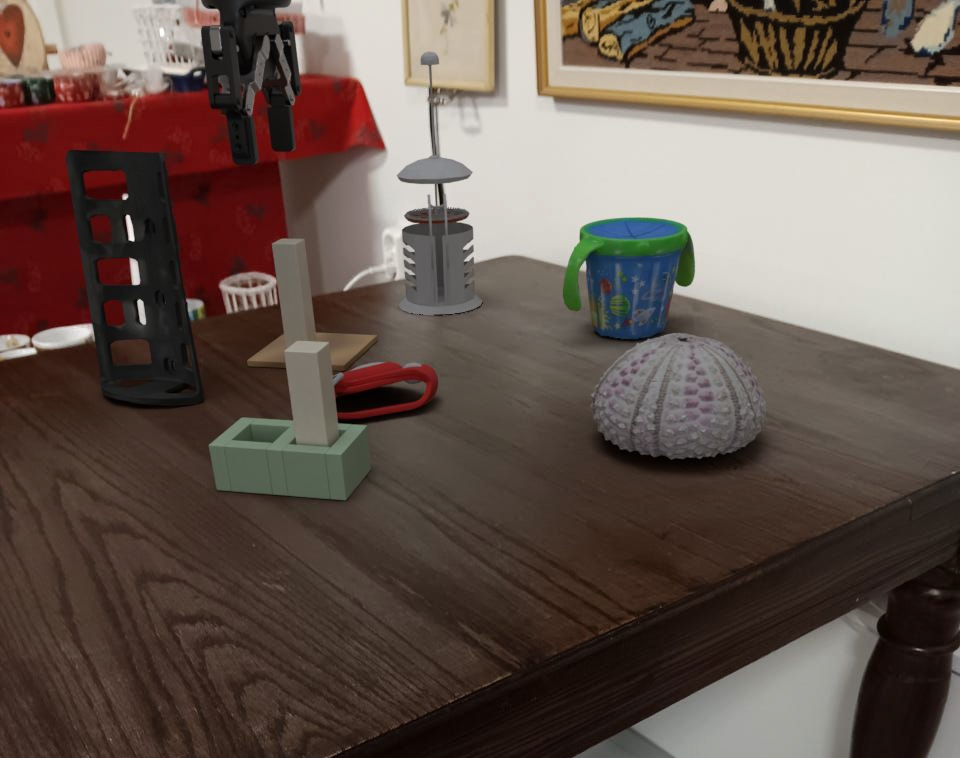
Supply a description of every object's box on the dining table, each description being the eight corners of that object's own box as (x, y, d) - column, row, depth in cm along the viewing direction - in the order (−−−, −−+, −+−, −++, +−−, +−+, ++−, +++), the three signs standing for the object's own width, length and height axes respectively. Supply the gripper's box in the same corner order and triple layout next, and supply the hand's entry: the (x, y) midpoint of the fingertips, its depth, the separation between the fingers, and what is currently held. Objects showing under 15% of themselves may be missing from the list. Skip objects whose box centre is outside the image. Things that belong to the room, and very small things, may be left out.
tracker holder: (336, 370, 91) (439, 346, 88) (349, 418, 92) (451, 396, 89) (286, 383, 80) (402, 355, 77) (301, 437, 81) (416, 412, 78)
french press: (480, 291, 118) (474, 47, 104) (487, 318, 108) (482, 53, 95) (398, 294, 118) (381, 50, 104) (397, 322, 108) (379, 56, 94)
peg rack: (216, 490, 72) (208, 445, 70) (248, 460, 77) (241, 417, 75) (346, 500, 70) (341, 454, 68) (371, 469, 75) (367, 424, 73)
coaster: (247, 366, 96) (246, 360, 96) (287, 336, 104) (286, 330, 104) (344, 371, 94) (344, 365, 94) (377, 340, 102) (377, 334, 102)
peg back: (285, 349, 99) (271, 243, 93) (295, 342, 101) (281, 238, 95) (308, 350, 98) (295, 244, 93) (317, 343, 100) (304, 238, 95)
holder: (76, 401, 88) (32, 150, 79) (123, 381, 95) (87, 148, 85) (189, 410, 86) (157, 153, 77) (229, 389, 92) (204, 151, 83)
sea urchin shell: (563, 423, 81) (566, 324, 77) (709, 401, 85) (719, 305, 81) (637, 486, 71) (644, 376, 66) (799, 457, 74) (817, 350, 70)
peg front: (301, 487, 72) (283, 350, 67) (313, 474, 74) (296, 340, 69) (332, 489, 72) (316, 352, 66) (344, 476, 74) (329, 341, 68)
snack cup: (591, 357, 96) (595, 246, 90) (537, 330, 104) (537, 227, 98) (720, 332, 102) (731, 226, 96) (660, 308, 110) (667, 210, 104)
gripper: (234, -56, 88) (259, 147, 97) (154, -63, 76) (191, 168, 85) (313, -58, 86) (332, 148, 95) (244, -66, 75) (272, 170, 84)
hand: (265, 157), depth 90 cm, fingers open, 8 cm apart
